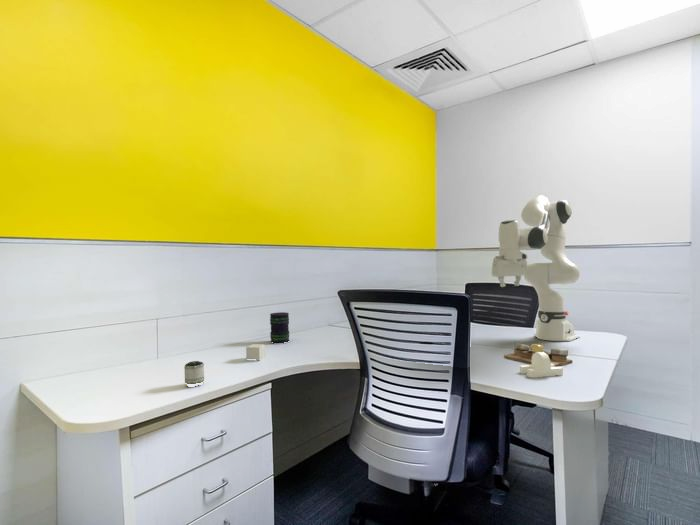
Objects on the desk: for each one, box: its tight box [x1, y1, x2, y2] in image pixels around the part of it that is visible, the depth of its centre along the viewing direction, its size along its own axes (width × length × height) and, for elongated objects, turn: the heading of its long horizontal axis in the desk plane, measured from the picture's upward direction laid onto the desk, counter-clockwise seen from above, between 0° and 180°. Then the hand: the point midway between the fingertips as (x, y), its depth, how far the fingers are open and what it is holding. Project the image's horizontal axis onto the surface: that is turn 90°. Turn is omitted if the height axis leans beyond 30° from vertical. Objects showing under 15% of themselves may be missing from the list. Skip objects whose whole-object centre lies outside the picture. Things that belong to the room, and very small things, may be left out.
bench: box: [503, 342, 573, 367], centre depth 156 cm, size 15×20×5 cm
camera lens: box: [183, 360, 205, 384], centre depth 133 cm, size 6×6×8 cm
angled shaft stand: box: [550, 348, 569, 362], centre depth 152 cm, size 4×6×4 cm, turn 60°
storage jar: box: [269, 311, 290, 344], centre depth 202 cm, size 10×10×15 cm
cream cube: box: [245, 343, 266, 360], centre depth 167 cm, size 6×6×6 cm
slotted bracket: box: [519, 351, 564, 379], centre depth 138 cm, size 13×7×8 cm, turn 100°
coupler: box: [530, 343, 544, 354], centre depth 156 cm, size 4×4×5 cm
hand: (509, 286), depth 174 cm, fingers open, 8 cm apart
